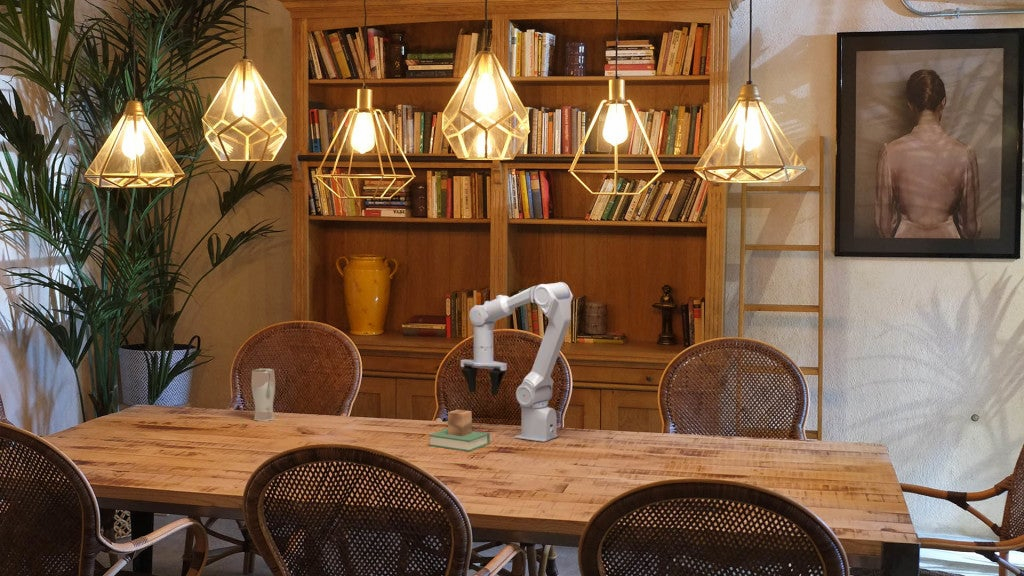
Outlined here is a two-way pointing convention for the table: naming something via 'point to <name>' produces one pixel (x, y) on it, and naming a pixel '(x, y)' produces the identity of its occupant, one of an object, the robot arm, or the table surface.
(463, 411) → the brown wooden block
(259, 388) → the beer glass
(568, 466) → the table surface
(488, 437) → the green book
